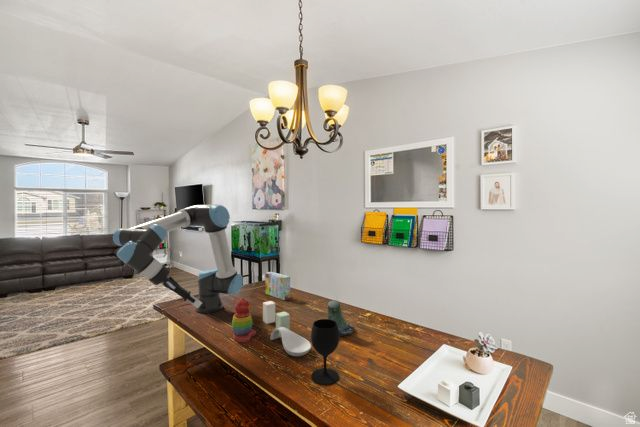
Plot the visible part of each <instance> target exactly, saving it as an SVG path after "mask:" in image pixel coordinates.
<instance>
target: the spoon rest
mask: <svg viewBox="0 0 640 427" xmlns="http://www.w3.org/2000/svg"><path fill="white" fill-rule="evenodd" d="M279 331H280V333H281V336H282V337H281V342H282V347H283V349H284V350H285V352H286V353H287V354H288V355H289V356H291V357H302V356H305V355H306V354H307V353H309V352H310V351H311V348H312V342H311V341H309V340H308V339H306V338H305V337H302V336H301V335H299V334H297V333H295V332H294V331H292V330H291V329H290V330H289V329H287V328H285V327H280V328H278V329H276V328H274V329H273V330H272V331H271V334H270V337H269V338H270V341H273V340H277V339H279V338H280V337H279Z"/></svg>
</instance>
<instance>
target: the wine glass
mask: <svg viewBox="0 0 640 427" xmlns="http://www.w3.org/2000/svg"><path fill="white" fill-rule="evenodd" d="M339 342H340V336H339V330H338V326H337V323H336V322H335V321H333V320H330V319H327V318H322V319H321V318H320V319H317V320H315V321H314V322H313V324H312V327H311V332H310V343H311V346H312V347H313V349H314V350H315V351H316V352H317V353H318V354H319V355H321V356H322V357H323V358H322V359H323V367H322V368H321V367H320V368H317V369H315V370H314V371H312V373H311V375H310V378H311V380H312V382H313V383H315V384H316V385H319V386H331V385H334V384H336V383H337V382H338V381H339V379H340V374H339V373H338V371H336V370H335V369H332V368H330V367H329V368H328V367H327V362H328V361H327V359H328V357H329V355H331V354H332V353H334V352H335V351H336V349H337V348H338V346H339Z"/></svg>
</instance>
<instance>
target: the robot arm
mask: <svg viewBox="0 0 640 427" xmlns="http://www.w3.org/2000/svg"><path fill="white" fill-rule="evenodd" d="M230 219H231V218H230V213H229V210H228V209H227V208H226V207H225V206H224V205H220V204H196V205H191V206H188V207H185V208H182V209H179V210H177V211H176V212H175V213H172V214H170V215H167V216H163V217H160V218H158V219H157V218H156V219H154V220H151V221H147V222H145V223H142V224H139V225H136V226H132V227H128V228H126V227H125V228H118V229H116V230H115V231H114V233H113V235H112V241H113V243H114V244H115V245H116V246H118V247H119V246H120V248H119V249H118V251H117V252H116V257H117V258H118V259H119V260H120V261H122V262H123V263H124V264H126V265H128V266H129V267H130V268H131V269H133V270H134V271H136V272H137V273H139V275H140V277H144V278H146V279H147V280H149V282H151V283H152V284H153V285H155V286H158V285H160V284H161V283H163V284H162V285H163V286H164V287H165V288H167V289H169V290H170V291H172V292H174V293H175V294H177V295H178V296H179V297H181V298H182V299H183V301H184V302H186V301H187V302H189V303H190V304H191V305H192V306H194V307H195V312H197V313H199V314H200V313H201V314H210V313H215V312H219V311H221V310H222V309H223V308H224V306H223V305H224V304H223V301H222V298H221V296H220V294H224V295H237V294H238V293H239V292H240V290H241V289H242V286H243V284H244V279H243V278H244V277H243V276H242V275H241V273H238V271H237V269H236V267H234V264H233V261H232V255H231V253H230V252H231V251H230V247H229V243H228V238H227V234H226V229H227V228H228V225H229V223H230ZM194 226H195V227H203V229H204V232H205V234H208V238H209V241H210V245H211V248H212V253H213V256H214V257H213V258H214V261H215V266H216V268H214V269H212V268H211V269H206V270H203V271H200V272H199V273H198V281H197V282H198V284H197V285H198V298H196V297H195V296H194V295H192V294H191V291H190V290H189V291H188V290H186V289H185V288H184V287H182V286H181V285H180V284H179V283H178V282H177V281H176V280H175V279H174V277H171V276H169V275H170V271H171V270H170V269H169V268H168V267H166V266H165V265H163V264H162V262H160V261H159V260H157V259H156V258H155V257H153V255H152V254H153V253H154V251H155V250H157V248H158V247H159V246H160V245H161V244H162V243H163V242H164V240H165V239H166V238H167V236H168V233H169V232H172V231H175V230H177V229H180V228H188V227H194Z"/></svg>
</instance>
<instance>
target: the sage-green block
mask: <svg viewBox="0 0 640 427" xmlns="http://www.w3.org/2000/svg"><path fill="white" fill-rule="evenodd" d="M290 319H291V317H290V314H289V313H288V312H286V311H285V310H284V311H281V312H280V311H279V312H277V313H276V312H275V329H278V328H280V327H285V328H287V329H289V330H290V331H291V326H290V325H291V324H290V322H291V320H290ZM279 338H282V336H281V333H280V331H279Z"/></svg>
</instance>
